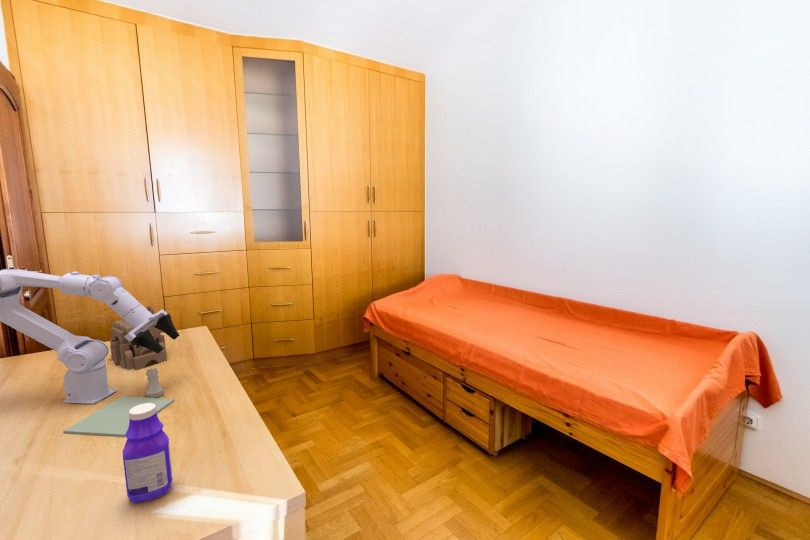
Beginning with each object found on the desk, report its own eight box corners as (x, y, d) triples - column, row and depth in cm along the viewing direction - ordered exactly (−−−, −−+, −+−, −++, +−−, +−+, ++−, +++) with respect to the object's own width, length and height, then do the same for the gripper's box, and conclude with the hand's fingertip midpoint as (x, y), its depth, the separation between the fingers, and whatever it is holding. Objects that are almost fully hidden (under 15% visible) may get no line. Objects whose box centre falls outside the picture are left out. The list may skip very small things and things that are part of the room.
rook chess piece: (154, 400, 106) (151, 373, 105) (141, 398, 107) (138, 372, 106) (167, 392, 111) (164, 367, 109) (154, 391, 112) (152, 365, 110)
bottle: (174, 477, 76) (166, 396, 73) (173, 495, 71) (163, 410, 68) (130, 489, 72) (119, 405, 69) (125, 510, 67) (113, 420, 65)
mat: (63, 433, 91) (63, 430, 90) (122, 398, 107) (122, 396, 107) (124, 436, 89) (124, 434, 89) (174, 401, 106) (174, 399, 106)
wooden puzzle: (104, 358, 137) (97, 308, 134) (149, 346, 149) (144, 300, 146) (127, 373, 124) (121, 319, 121) (175, 359, 136) (169, 309, 133)
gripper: (121, 315, 99) (162, 350, 103) (157, 293, 113) (192, 325, 116) (106, 329, 101) (146, 363, 104) (143, 305, 114) (177, 337, 118)
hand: (169, 344), depth 110 cm, fingers open, 7 cm apart
